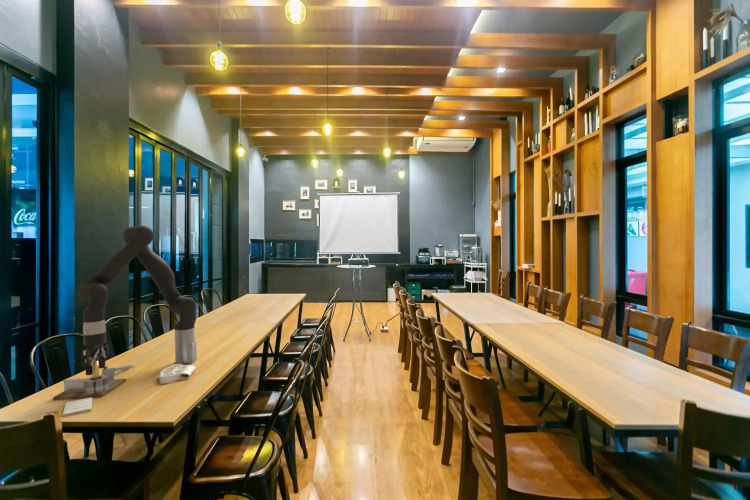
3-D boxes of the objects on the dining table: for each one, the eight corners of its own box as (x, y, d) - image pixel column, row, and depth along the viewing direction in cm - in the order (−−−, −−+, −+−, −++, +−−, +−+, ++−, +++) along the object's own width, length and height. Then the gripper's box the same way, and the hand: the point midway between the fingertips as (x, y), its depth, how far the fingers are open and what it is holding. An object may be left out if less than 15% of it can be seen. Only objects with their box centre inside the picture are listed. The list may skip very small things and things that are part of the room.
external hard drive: (92, 401, 150) (91, 412, 140) (65, 406, 145) (62, 418, 135) (92, 397, 150) (90, 408, 140) (65, 402, 145) (62, 413, 135)
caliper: (104, 381, 170) (103, 367, 170) (101, 381, 170) (101, 367, 170) (133, 366, 191) (133, 354, 191) (131, 366, 191) (131, 354, 191)
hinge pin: (101, 388, 158) (99, 360, 158) (97, 391, 156) (96, 362, 156) (95, 389, 158) (93, 360, 158) (91, 391, 156) (89, 362, 155)
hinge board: (126, 380, 170) (126, 378, 170) (102, 396, 153) (102, 394, 153) (82, 383, 168) (82, 380, 168) (53, 399, 151) (53, 397, 151)
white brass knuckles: (187, 382, 168) (150, 385, 165) (197, 369, 186) (164, 372, 183) (187, 374, 168) (150, 377, 165) (197, 362, 186) (164, 365, 183)
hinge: (122, 379, 169) (122, 368, 169) (101, 393, 153) (100, 381, 153) (83, 381, 168) (83, 370, 167) (57, 395, 152) (57, 383, 152)
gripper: (93, 335, 150) (95, 376, 150) (114, 327, 164) (115, 365, 164) (73, 336, 149) (74, 378, 149) (95, 328, 163) (96, 366, 164)
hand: (95, 371), depth 157 cm, fingers open, 8 cm apart
